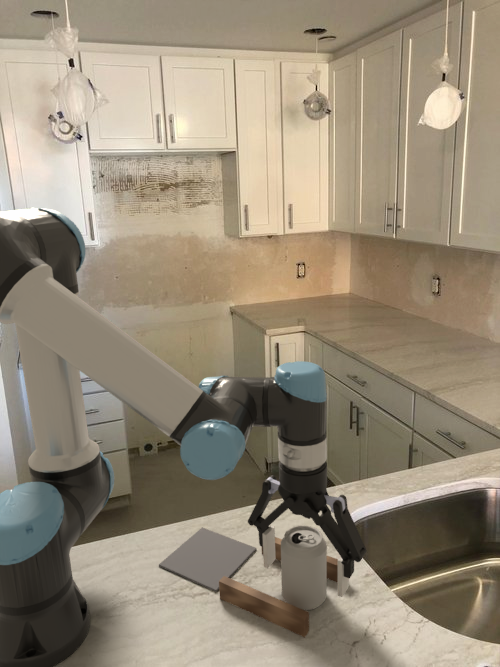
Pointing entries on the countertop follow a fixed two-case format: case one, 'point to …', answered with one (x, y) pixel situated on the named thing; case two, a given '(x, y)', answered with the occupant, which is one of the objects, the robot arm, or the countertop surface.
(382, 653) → the countertop surface
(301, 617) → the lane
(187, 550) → the mat
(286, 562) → the can
